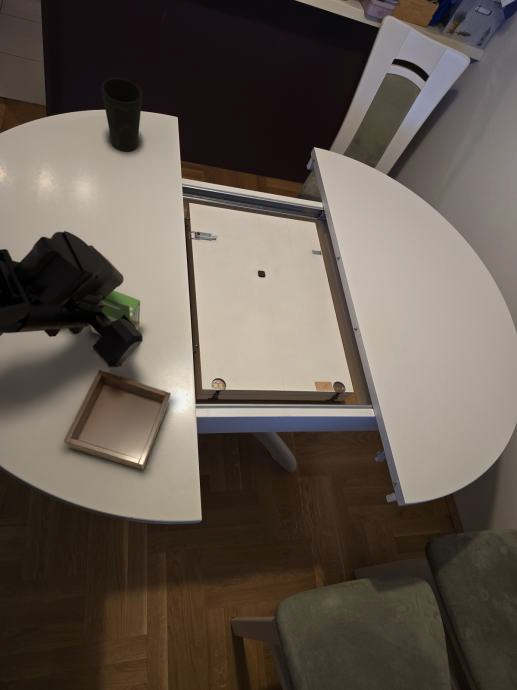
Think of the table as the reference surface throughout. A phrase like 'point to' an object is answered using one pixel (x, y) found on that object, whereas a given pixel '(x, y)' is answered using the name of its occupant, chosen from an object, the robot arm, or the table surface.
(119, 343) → the robot arm
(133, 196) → the table surface
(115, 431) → the holder
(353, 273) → the table surface
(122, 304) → the ink box
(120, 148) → the cup
